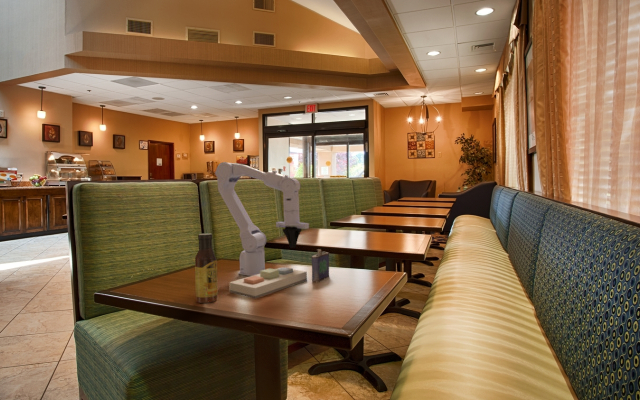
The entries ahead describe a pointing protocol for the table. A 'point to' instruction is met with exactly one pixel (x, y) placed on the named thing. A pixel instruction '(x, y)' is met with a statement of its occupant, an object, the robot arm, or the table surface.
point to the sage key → (269, 273)
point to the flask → (320, 266)
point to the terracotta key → (253, 280)
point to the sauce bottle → (206, 270)
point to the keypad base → (267, 284)
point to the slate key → (285, 270)
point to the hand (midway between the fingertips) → (292, 247)
